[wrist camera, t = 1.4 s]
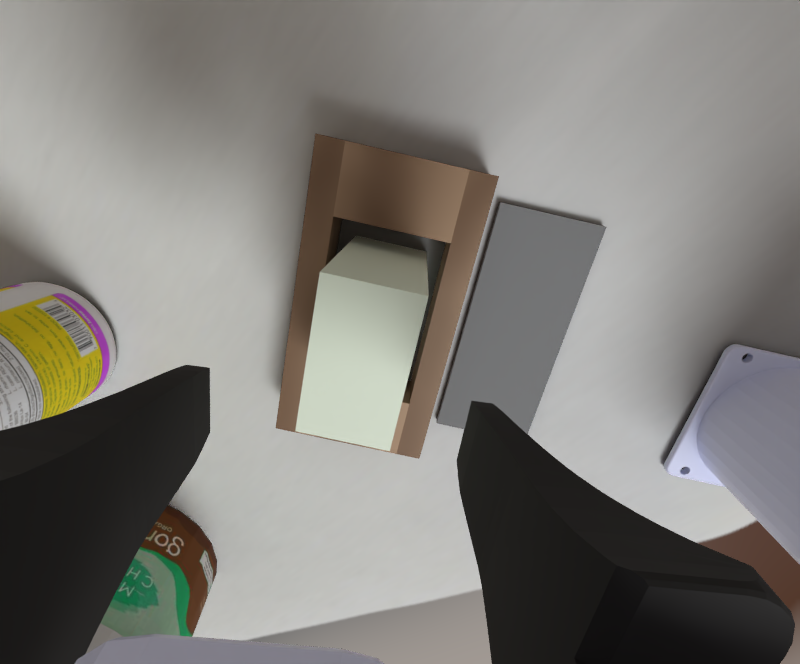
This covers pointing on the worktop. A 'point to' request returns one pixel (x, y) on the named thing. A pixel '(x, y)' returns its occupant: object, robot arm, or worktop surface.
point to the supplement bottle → (49, 351)
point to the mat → (519, 312)
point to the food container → (162, 583)
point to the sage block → (363, 342)
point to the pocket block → (401, 211)
